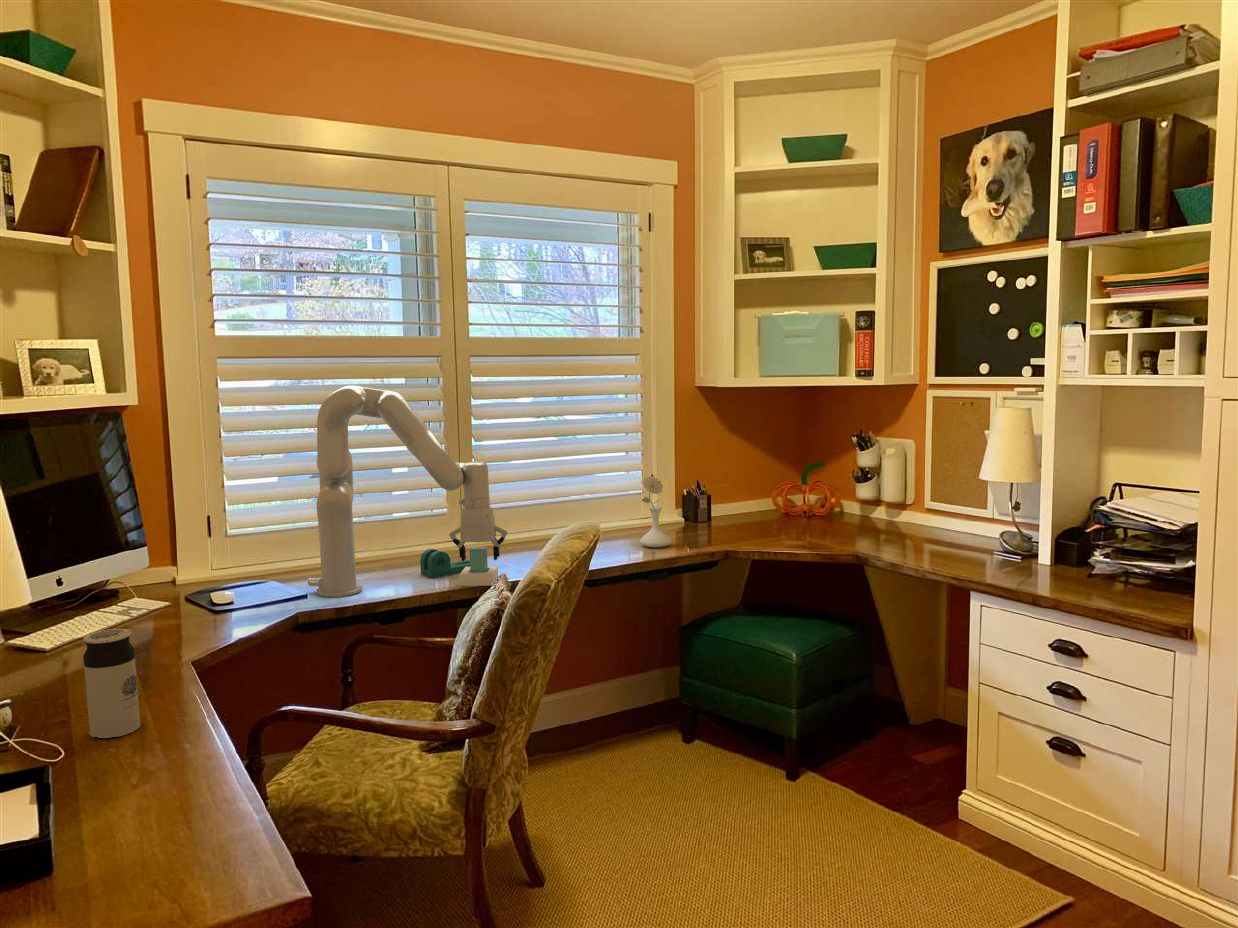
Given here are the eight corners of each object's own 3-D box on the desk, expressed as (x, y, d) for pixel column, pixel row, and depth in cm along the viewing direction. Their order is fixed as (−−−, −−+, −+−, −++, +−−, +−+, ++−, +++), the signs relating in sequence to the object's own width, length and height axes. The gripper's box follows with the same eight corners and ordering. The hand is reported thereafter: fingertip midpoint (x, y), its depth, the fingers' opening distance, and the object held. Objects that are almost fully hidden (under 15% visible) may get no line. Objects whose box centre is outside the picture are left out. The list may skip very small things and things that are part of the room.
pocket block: (459, 585, 266) (459, 574, 265) (465, 577, 276) (465, 566, 275) (493, 585, 266) (493, 573, 265) (498, 577, 275) (497, 566, 275)
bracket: (431, 578, 276) (430, 553, 275) (421, 575, 281) (419, 550, 281) (481, 569, 288) (481, 545, 287) (470, 566, 293) (470, 542, 292)
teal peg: (470, 583, 268) (469, 550, 267) (473, 580, 273) (472, 547, 272) (485, 583, 268) (484, 550, 267) (488, 579, 273) (486, 547, 272)
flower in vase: (678, 546, 316) (677, 476, 314) (652, 550, 310) (651, 479, 307) (656, 541, 327) (655, 472, 324) (630, 545, 321) (629, 475, 318)
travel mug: (79, 736, 161) (71, 638, 159) (118, 720, 168) (110, 626, 166) (112, 742, 158) (103, 643, 156) (150, 725, 165) (142, 630, 163)
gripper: (445, 506, 264) (448, 563, 266) (504, 504, 264) (506, 561, 266) (450, 502, 272) (453, 557, 274) (507, 500, 272) (510, 556, 274)
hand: (479, 559), depth 270 cm, fingers open, 9 cm apart
